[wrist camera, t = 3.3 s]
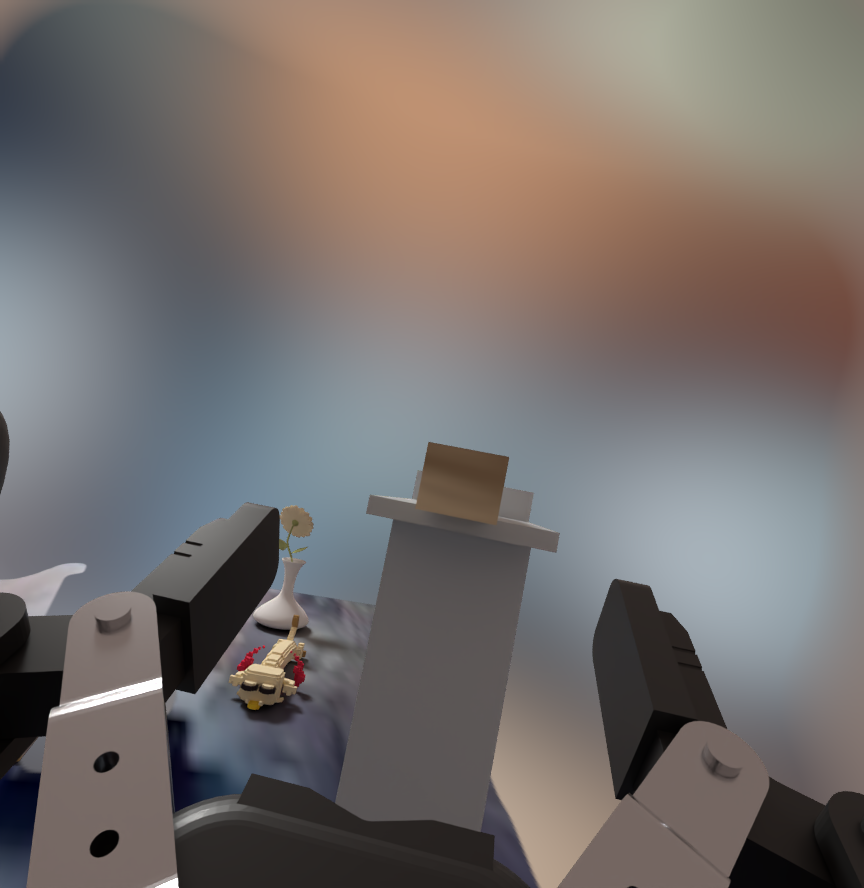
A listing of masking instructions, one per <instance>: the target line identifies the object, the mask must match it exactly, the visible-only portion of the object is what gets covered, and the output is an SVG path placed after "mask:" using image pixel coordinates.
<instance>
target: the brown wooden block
mask: <svg viewBox="0 0 864 888" xmlns="http://www.w3.org/2000/svg"><path fill="white" fill-rule="evenodd" d="M508 461H509V457H506V456H501V455H495V454H490V453H484V452H479V451H474V450H469V449H463V448H458V447H453V446H447V445H442V444H437V443H431V442H429V443H428V447H427V452H426V457H425V462H424V467H423V472H422V477H421V482H420V487H419V492H418V497H417V502H416V507H415V509H419V510H423V511H428V512H433V513H438V514H443V515H448V516H453V517H458V518H463V519H468V520H473V521H478V522H482V523H487V524H492V525H497V520H498V515H499V509H500V504H501V499H502V493H503V488H504V482H505V476H506V472H507V466H508Z"/></svg>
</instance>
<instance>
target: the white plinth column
mask: <svg viewBox="0 0 864 888" xmlns="http://www.w3.org/2000/svg"><path fill="white" fill-rule="evenodd" d="M422 472H423V471H419V470H418V472H417V477H416V481H415V487H414V492H413V496H412V499H408V498H397V497H388V496H377V495H370V498H369V502H368V507H367V512H366V513H367V514H372V515H377V516H381V517H386V518H391V519H393V524H392V528H391V533H390V538H389V543H388V548H387V553H386V558H385V563H384V568H383V572H382V577H381V582H380V587H379V592H378V597H377V602H376V607H375V611H374V616H373V621H372V626H371V631H370V636H369V641H368V646H367V651H366V656H365V660H364V665H363V670H362V675H361V680H360V685H359V690H358V695H357V700H356V704H355V709H354V714H353V719H352V724H351V729H350V734H349V739H348V744H347V749H346V753H345V758H344V763H343V768H342V773H341V778H340V783H339V788H338V793H337V797H336V802H335V804H337V805H339V806H340V807H342V808H344V809H346V810H347V811H349V812H351V813H352V814H354V815H356V816H357V817H359V818H361V819H363V820H366V821H405V820H436V821H439V822H443V823H447V824H451V825H455V826H459V827H463V828H467V829H471V830H475V831H478V832H481V826H482V821H483V815H484V809H485V804H486V798H487V792H488V787H489V781H490V776H491V770H492V764H493V759H494V753H495V747H496V742H497V736H498V731H499V725H500V719H501V713H502V708H503V702H504V697H505V691H506V685H507V680H508V673H509V669H510V663H511V657H512V652H513V646H514V640H515V635H516V629H517V624H518V617H519V611H520V606H521V601H522V595H523V590H524V584H525V579H526V573H527V567H528V562H529V556H530V550H531V548H536V549H541V550H546V551H550V552H556V551H557V545H558V539H559V534H560V533H558V532H555V531H552V530H549V529H546V528H543V527H540V526H537V525H535V524H532V523H529V522H528V521H529V515H530V510H531V505H532V499H533V493H532V492H526V491H521V490H516V489H511V488H506V487H504V488H503V493H502V499H501V504H500V509H499V515H498V520H497V525H492V524H487V523H482V522H478V521H473V520H468V519H463V518H458V517H453V516H448V515H443V514H438V513H433V512H428V511H423V510H419V509H415V507H416V502H417V497H418V492H419V487H420V482H421V477H422Z"/></svg>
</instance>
